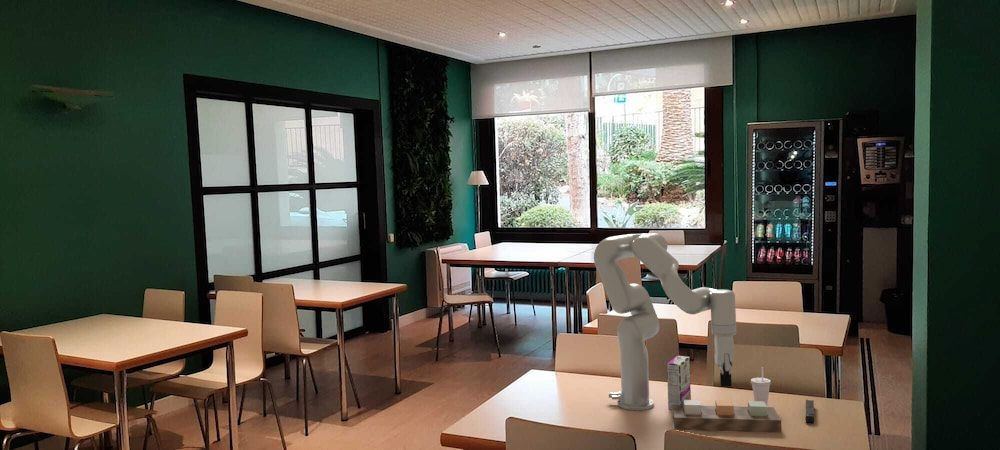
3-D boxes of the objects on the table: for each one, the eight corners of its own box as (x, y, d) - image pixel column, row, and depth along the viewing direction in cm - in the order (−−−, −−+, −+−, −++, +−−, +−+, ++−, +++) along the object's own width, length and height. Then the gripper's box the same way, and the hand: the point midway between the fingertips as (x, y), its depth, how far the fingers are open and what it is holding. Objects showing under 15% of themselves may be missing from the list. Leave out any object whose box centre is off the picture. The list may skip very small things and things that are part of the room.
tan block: (717, 418, 222) (717, 405, 222) (715, 413, 227) (715, 400, 226) (733, 418, 221) (733, 405, 221) (731, 413, 226) (731, 400, 226)
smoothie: (772, 411, 234) (772, 370, 233) (752, 410, 236) (752, 370, 235) (769, 405, 241) (768, 365, 240) (749, 404, 242) (749, 364, 241)
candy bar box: (677, 400, 249) (676, 355, 248) (691, 402, 247) (690, 356, 245) (667, 409, 240) (666, 362, 239) (681, 412, 237) (680, 364, 236)
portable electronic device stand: (814, 425, 221) (814, 416, 221) (805, 425, 222) (805, 415, 222) (813, 407, 237) (813, 399, 237) (805, 406, 238) (805, 398, 238)
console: (674, 429, 221) (674, 417, 221) (672, 416, 233) (672, 404, 233) (781, 433, 215) (781, 420, 215) (773, 419, 227) (773, 407, 227)
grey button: (685, 417, 224) (684, 404, 223) (683, 412, 229) (683, 399, 228) (701, 418, 223) (700, 405, 222) (699, 412, 228) (699, 400, 227)
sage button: (750, 419, 220) (750, 406, 220) (747, 413, 225) (747, 401, 225) (767, 419, 219) (767, 406, 219) (764, 414, 224) (764, 401, 224)
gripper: (709, 324, 230) (711, 379, 231) (714, 334, 215) (716, 393, 216) (732, 324, 228) (734, 379, 229) (739, 333, 214) (742, 393, 215)
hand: (726, 385), depth 223 cm, fingers closed
